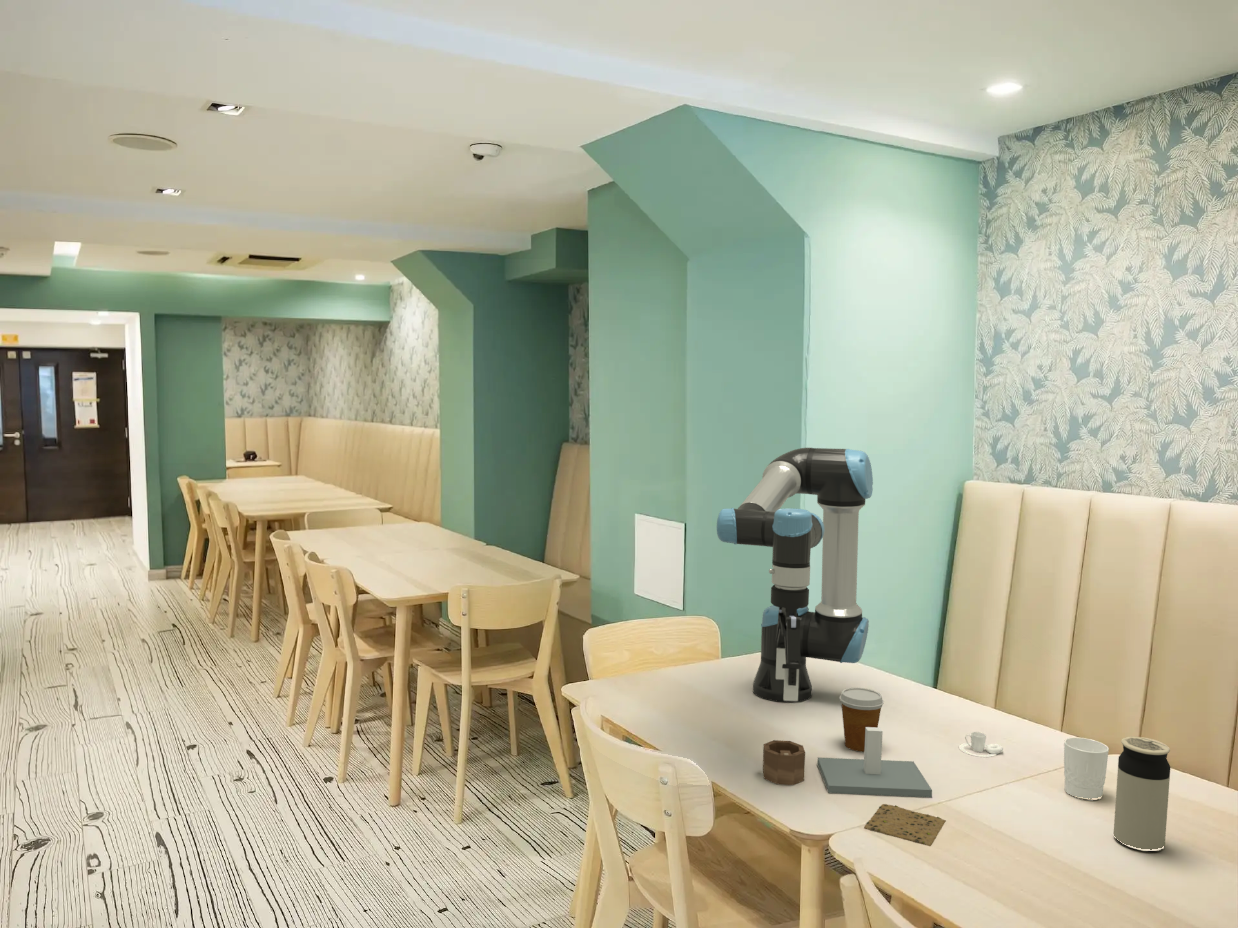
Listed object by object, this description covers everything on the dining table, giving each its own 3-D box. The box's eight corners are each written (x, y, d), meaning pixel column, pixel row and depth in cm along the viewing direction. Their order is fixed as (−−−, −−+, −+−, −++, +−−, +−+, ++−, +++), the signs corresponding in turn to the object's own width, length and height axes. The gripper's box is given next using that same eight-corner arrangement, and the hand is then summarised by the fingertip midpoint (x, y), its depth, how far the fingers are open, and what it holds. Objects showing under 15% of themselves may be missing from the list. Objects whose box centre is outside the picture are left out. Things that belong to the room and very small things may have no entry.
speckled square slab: (931, 849, 162) (932, 843, 162) (862, 830, 168) (862, 825, 168) (947, 822, 172) (947, 817, 172) (881, 805, 178) (882, 800, 178)
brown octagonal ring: (761, 767, 194) (762, 738, 194) (800, 769, 194) (801, 740, 193) (765, 783, 186) (766, 753, 186) (805, 785, 186) (806, 755, 185)
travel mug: (1143, 857, 160) (1150, 755, 158) (1103, 836, 167) (1109, 738, 165) (1175, 848, 163) (1182, 749, 161) (1133, 828, 170) (1140, 733, 169)
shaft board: (817, 764, 197) (819, 715, 196) (913, 768, 196) (915, 719, 195) (828, 792, 183) (830, 740, 182) (931, 797, 182) (934, 745, 181)
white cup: (1088, 805, 180) (1091, 755, 179) (1052, 789, 187) (1055, 740, 186) (1114, 797, 183) (1117, 748, 182) (1078, 782, 190) (1081, 734, 189)
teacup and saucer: (1006, 753, 206) (1007, 735, 206) (992, 763, 200) (993, 744, 200) (967, 742, 212) (968, 724, 212) (952, 751, 206) (953, 733, 206)
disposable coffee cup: (832, 749, 205) (834, 696, 204) (843, 735, 213) (845, 684, 212) (876, 758, 201) (878, 703, 200) (885, 743, 209) (888, 691, 208)
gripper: (765, 573, 199) (761, 670, 201) (778, 598, 175) (774, 709, 176) (800, 574, 199) (796, 671, 201) (818, 600, 174) (814, 710, 176)
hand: (786, 689), depth 188 cm, fingers open, 13 cm apart
